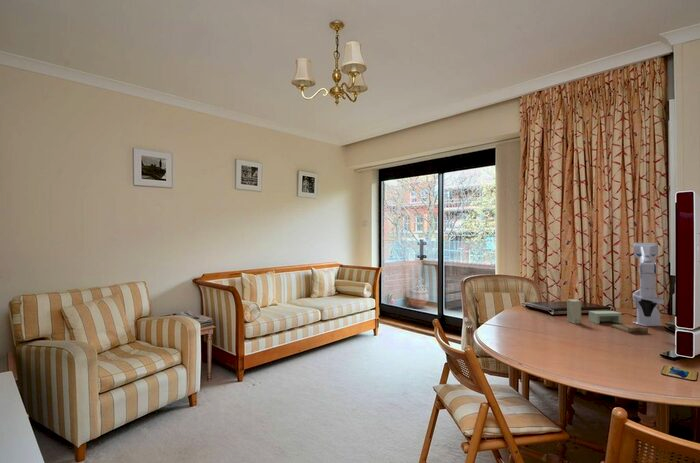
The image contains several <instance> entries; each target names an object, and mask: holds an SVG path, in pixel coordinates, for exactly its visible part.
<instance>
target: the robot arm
mask: <svg viewBox="0 0 700 463" xmlns="http://www.w3.org/2000/svg"><path fill="white" fill-rule="evenodd" d="M633 255H634V257H635V258H636V259H639V263H638V275H639V289H638V290H636V291H634V292H633V294H632V299H633V305H634V306H635V307H636V321H632V324H633V323H634V324H637V325H639V326H642V327H662V324H661V312H660V310H659V309H658V305H664V303H665V301H664V299H661V298H659V297H658V294H657V292H656V275H657V273H658V269H657V268H658V264H657V263H656V262H655V259H656V258H657V257H658V256H659V243H657V242H634V243H633Z"/></svg>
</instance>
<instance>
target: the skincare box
mask: <svg viewBox="0 0 700 463" xmlns="http://www.w3.org/2000/svg"><path fill="white" fill-rule="evenodd" d="M566 313H567V314H566V317H567V322H569V323H572V324H575V325H576V324H577V325H579V324H582V300H578V299H575V298H573V299H572V298H571V299H566Z"/></svg>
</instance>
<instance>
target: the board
mask: <svg viewBox="0 0 700 463" xmlns="http://www.w3.org/2000/svg"><path fill="white" fill-rule="evenodd" d="M610 328H613V329H615V330H618V331H621V332H624V333H627V334H630V335H633V334H635V335H636V334H638V333H640V334H648V333H649V328H648V326H634V325H630V324H622V323H621V324H610Z"/></svg>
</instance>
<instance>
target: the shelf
mask: <svg viewBox="0 0 700 463" xmlns="http://www.w3.org/2000/svg"><path fill="white" fill-rule="evenodd" d="M588 322H589V323H593V324H596V325H600V323H601V322H613V323H616V324H622V313H621V312H618V311H616V310H589V311H588Z"/></svg>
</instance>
